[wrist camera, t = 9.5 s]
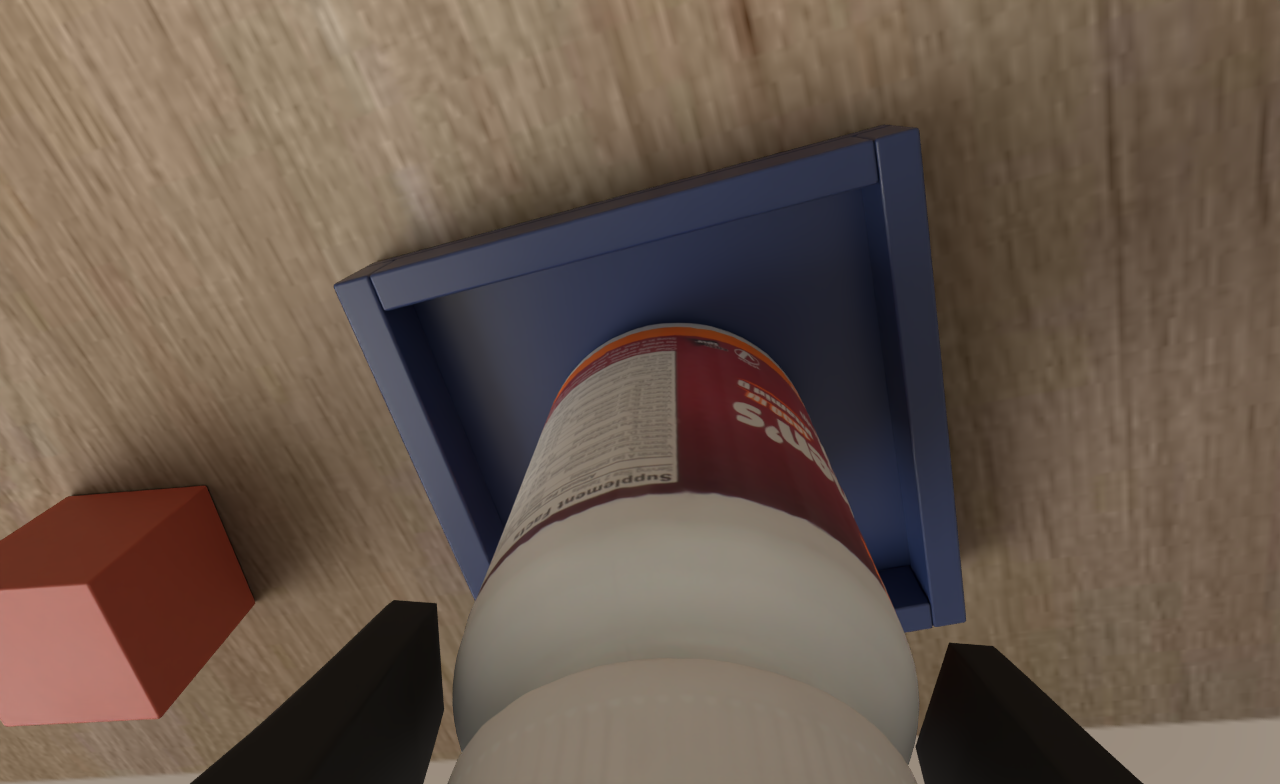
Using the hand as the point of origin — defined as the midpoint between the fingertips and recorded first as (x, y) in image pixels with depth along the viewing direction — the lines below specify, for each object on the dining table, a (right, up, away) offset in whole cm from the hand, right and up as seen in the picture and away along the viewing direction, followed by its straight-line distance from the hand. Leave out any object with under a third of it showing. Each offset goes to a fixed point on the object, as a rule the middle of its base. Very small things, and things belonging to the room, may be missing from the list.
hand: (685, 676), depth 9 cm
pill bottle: (0, +3, +7) cm, 8 cm away
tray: (0, +3, +7) cm, 8 cm away
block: (-14, 0, +9) cm, 17 cm away
